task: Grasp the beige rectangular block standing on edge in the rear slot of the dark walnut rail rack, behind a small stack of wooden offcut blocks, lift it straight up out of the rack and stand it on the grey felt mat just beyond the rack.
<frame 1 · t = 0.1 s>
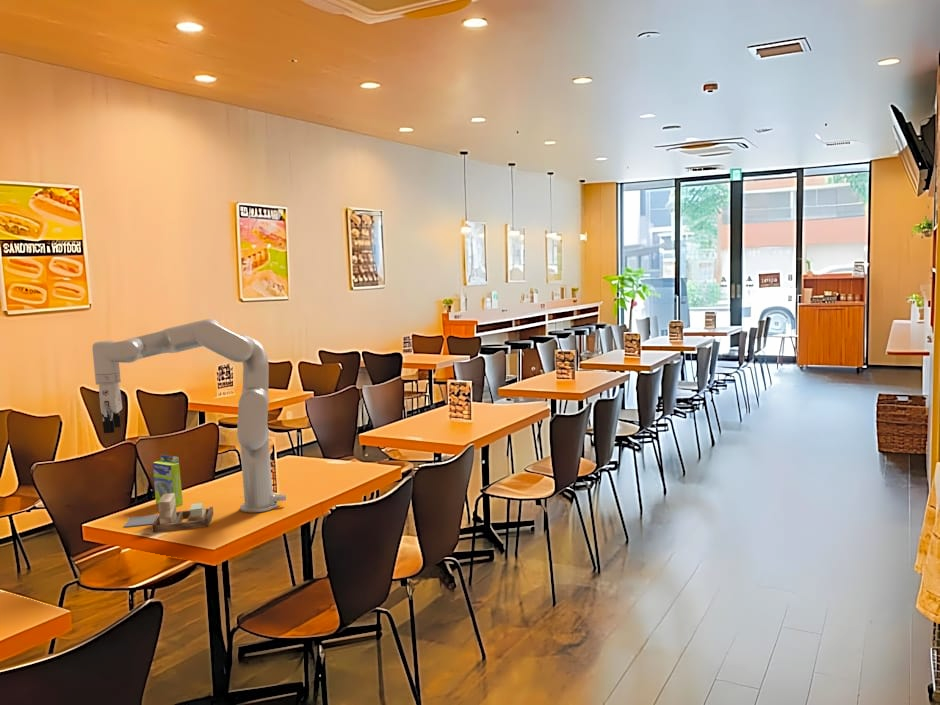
hand: (112, 430, 261), 31 cm above the table, fingers open, 9 cm apart
mat: (141, 521, 264), on the table
box: (169, 504, 283), on the table
rack: (184, 522, 260), on the table
beige rectangular block: (168, 524, 259), resting in rack
offcut low: (197, 522, 261), resting in rack
offcut top: (197, 513, 261), point 3 cm above the table
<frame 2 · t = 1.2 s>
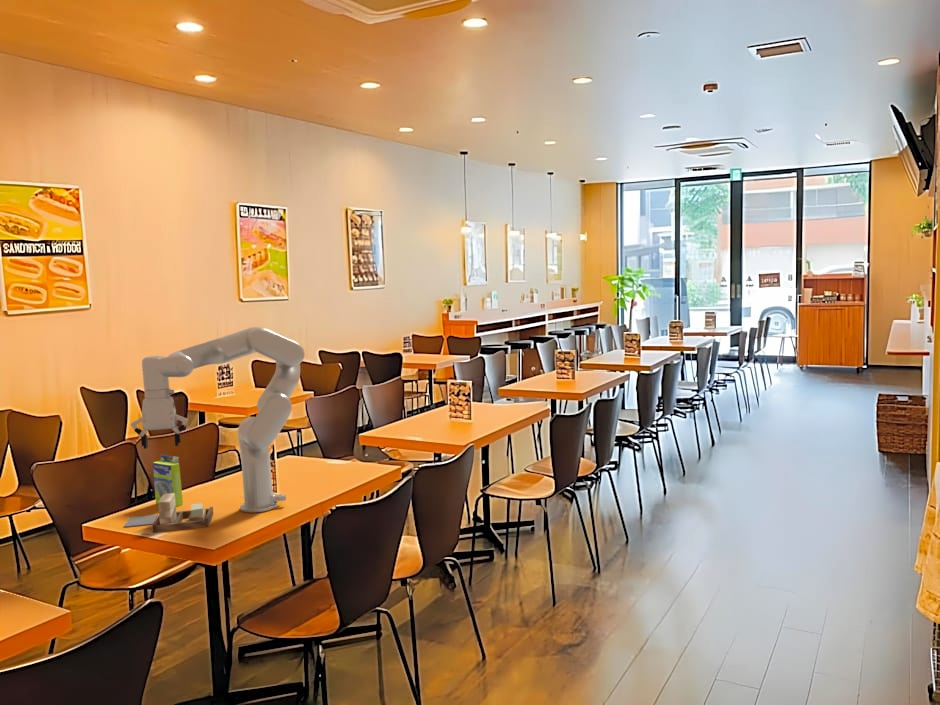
hand: (161, 446, 257), 26 cm above the table, fingers open, 9 cm apart
offcut low: (197, 522, 261), resting in rack, touching offcut top
offcut top: (197, 513, 260), point 3 cm above the table, touching offcut low
everything else where it was.
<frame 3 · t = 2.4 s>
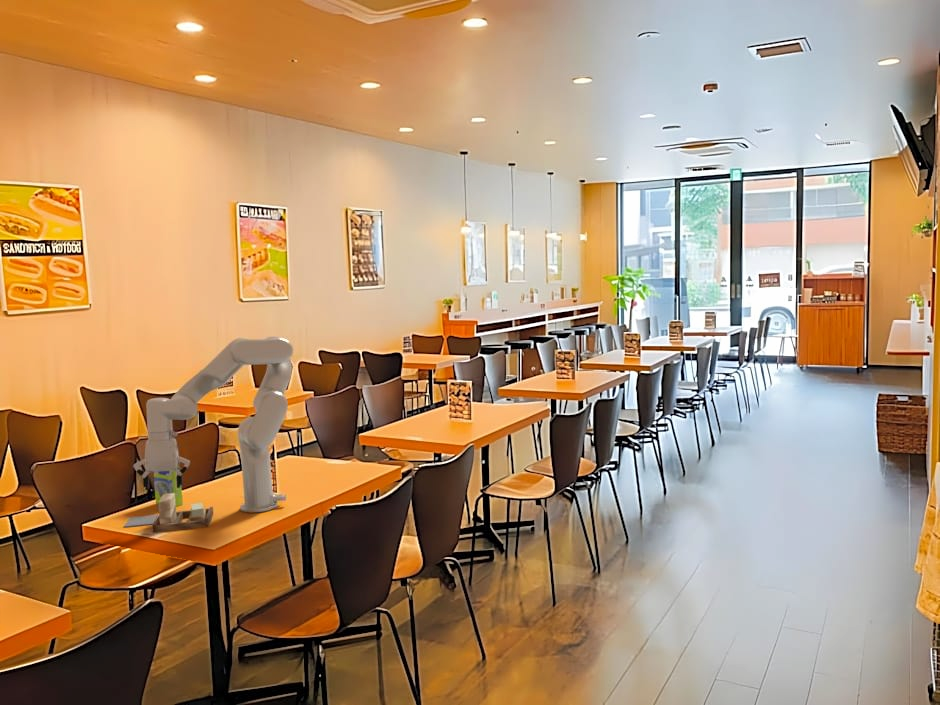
hand: (163, 488, 258), 12 cm above the table, fingers open, 9 cm apart
nothing on the table moved.
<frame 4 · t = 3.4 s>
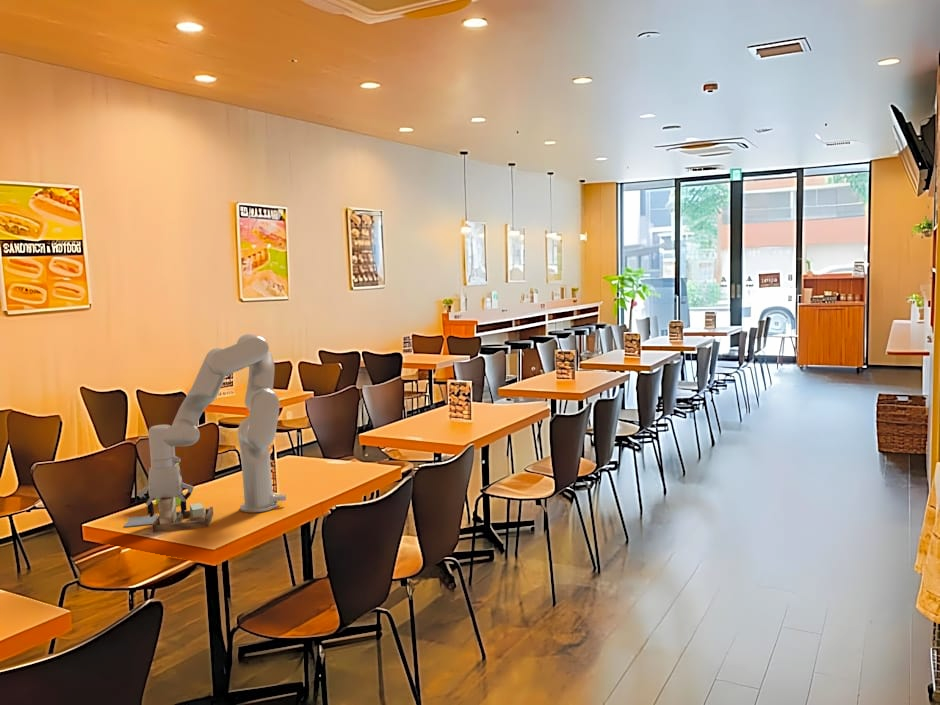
hand: (167, 514, 259), 3 cm above the table, fingers open, 9 cm apart
nothing on the table moved.
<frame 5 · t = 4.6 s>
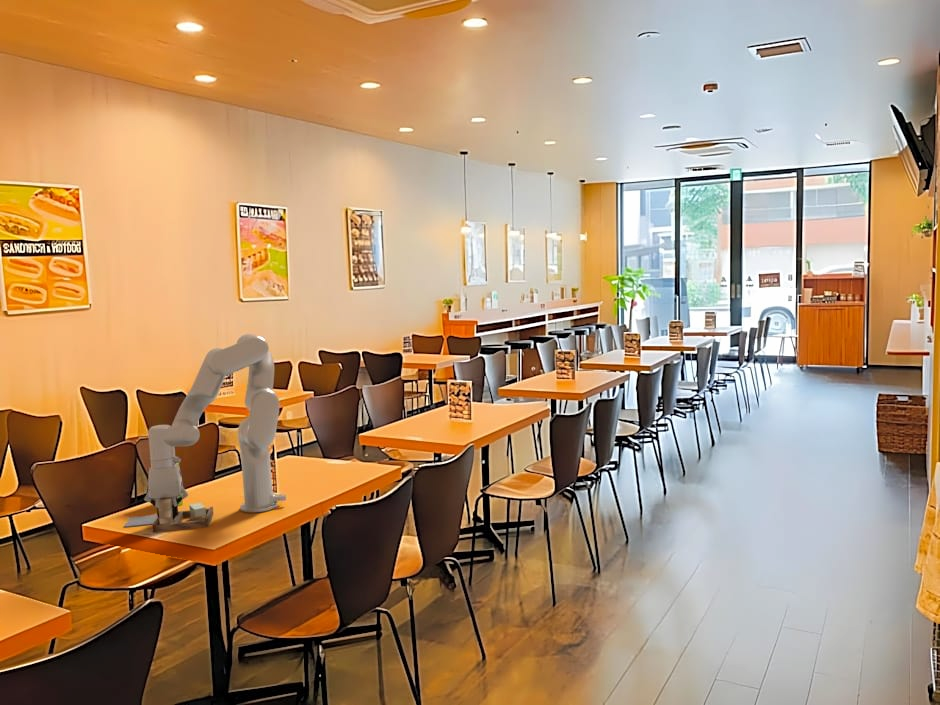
hand: (168, 517, 259), 2 cm above the table, fingers closed on beige rectangular block, 3 cm apart
beige rectangular block: (168, 524, 259), resting in rack, touching gripper
offcut low: (198, 522, 261), resting in rack
offcut top: (198, 513, 261), point 3 cm above the table
everything else where it was.
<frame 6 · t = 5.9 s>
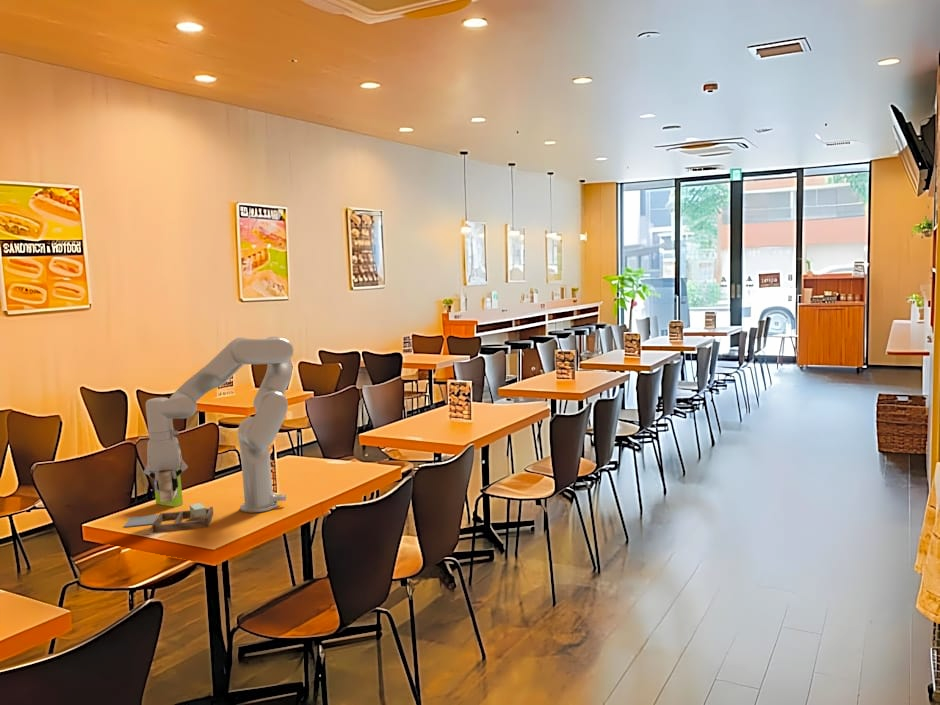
hand: (168, 490, 258), 11 cm above the table, fingers closed on beige rectangular block, 3 cm apart
beige rectangular block: (169, 497, 259), point 9 cm above the table, touching gripper
offcut low: (198, 522, 261), resting in rack, touching offcut top
offcut top: (198, 513, 261), point 3 cm above the table, touching offcut low
everything else where it was.
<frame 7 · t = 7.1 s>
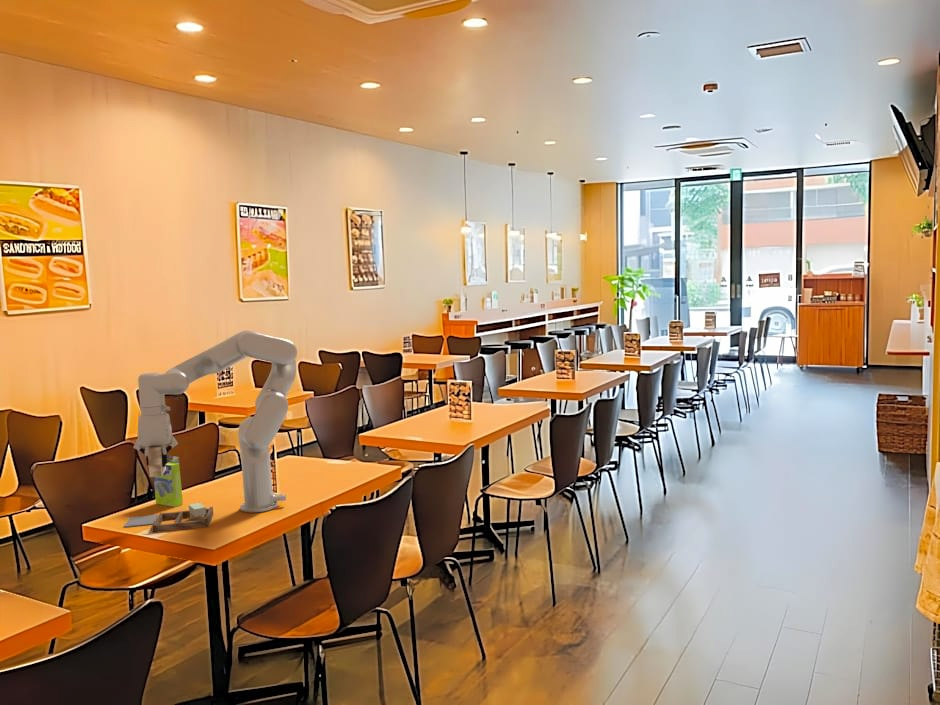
hand: (157, 466, 258), 19 cm above the table, fingers closed on beige rectangular block, 3 cm apart
beige rectangular block: (158, 473, 258), point 17 cm above the table, touching gripper
offcut low: (197, 522, 261), resting in rack
offcut top: (197, 513, 261), point 3 cm above the table
everything else where it was.
when the fingers open (3 cm above the table, at t = 11.4 s): beige rectangular block stays where it is, resting on mat.
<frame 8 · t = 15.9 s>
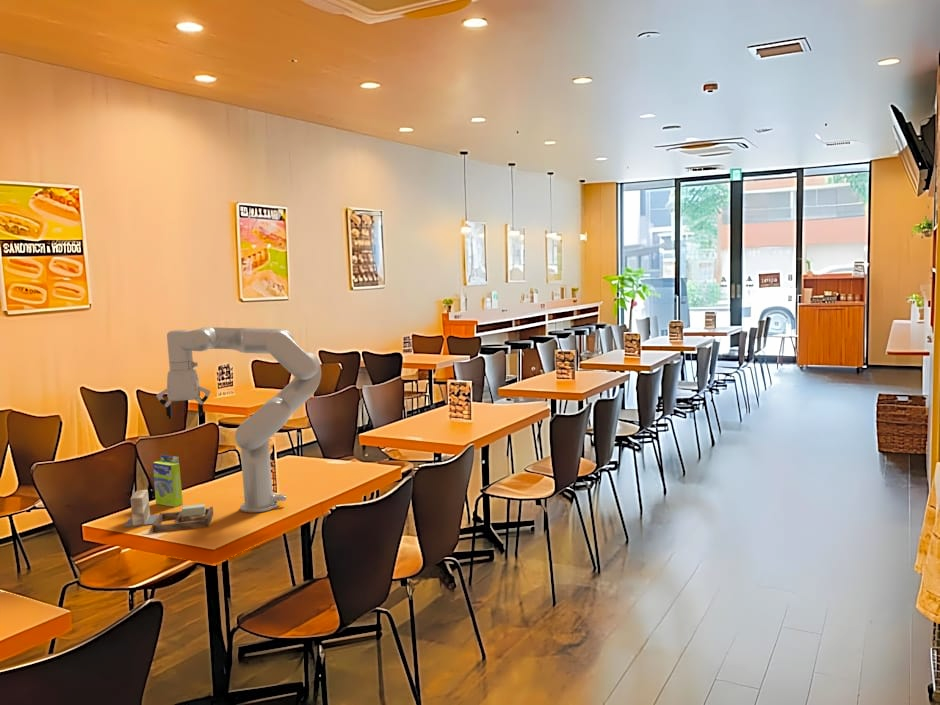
hand: (185, 416, 268), 33 cm above the table, fingers open, 9 cm apart
beige rectangular block: (141, 520, 264), resting on mat
offcut low: (195, 522, 261), resting in rack, touching offcut top
offcut top: (194, 513, 261), point 3 cm above the table, touching offcut low
everything else where it was.
at the end: beige rectangular block inside the target area on the mat (0.1 cm from its centre), point 0.4 cm above the mat's base; beige rectangular block tilted 0°; the gripper is holding nothing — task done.
